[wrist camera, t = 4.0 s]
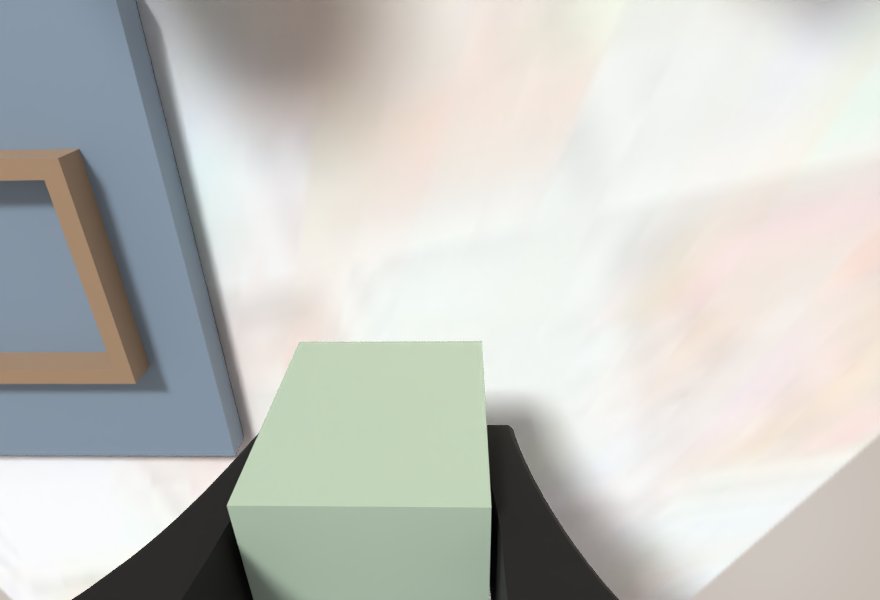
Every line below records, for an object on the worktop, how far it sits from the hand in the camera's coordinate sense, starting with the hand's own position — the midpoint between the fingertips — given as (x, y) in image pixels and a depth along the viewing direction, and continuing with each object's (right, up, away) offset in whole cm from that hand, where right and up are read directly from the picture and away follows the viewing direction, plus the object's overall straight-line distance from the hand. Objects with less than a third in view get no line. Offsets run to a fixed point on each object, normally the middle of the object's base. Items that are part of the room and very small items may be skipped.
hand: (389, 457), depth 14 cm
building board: (-13, +5, +6) cm, 15 cm away
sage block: (0, +1, +1) cm, 2 cm away
